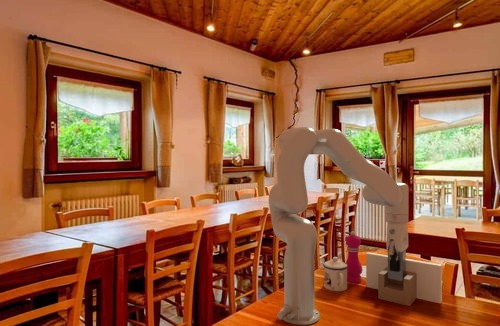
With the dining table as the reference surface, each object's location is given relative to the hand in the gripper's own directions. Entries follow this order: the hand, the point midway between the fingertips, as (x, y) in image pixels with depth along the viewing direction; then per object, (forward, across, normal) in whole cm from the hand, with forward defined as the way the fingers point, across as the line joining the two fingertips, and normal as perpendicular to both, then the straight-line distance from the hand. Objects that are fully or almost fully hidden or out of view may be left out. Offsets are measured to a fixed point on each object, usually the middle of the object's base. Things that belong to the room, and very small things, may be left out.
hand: (396, 269), depth 129 cm
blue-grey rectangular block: (+3, 0, 0) cm, 3 cm away
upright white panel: (+11, +2, 0) cm, 11 cm away
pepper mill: (+11, +9, +20) cm, 24 cm away
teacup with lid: (+11, -4, +21) cm, 24 cm away
